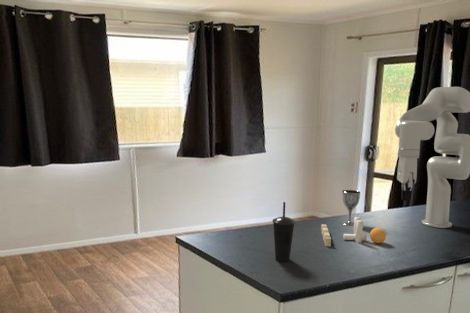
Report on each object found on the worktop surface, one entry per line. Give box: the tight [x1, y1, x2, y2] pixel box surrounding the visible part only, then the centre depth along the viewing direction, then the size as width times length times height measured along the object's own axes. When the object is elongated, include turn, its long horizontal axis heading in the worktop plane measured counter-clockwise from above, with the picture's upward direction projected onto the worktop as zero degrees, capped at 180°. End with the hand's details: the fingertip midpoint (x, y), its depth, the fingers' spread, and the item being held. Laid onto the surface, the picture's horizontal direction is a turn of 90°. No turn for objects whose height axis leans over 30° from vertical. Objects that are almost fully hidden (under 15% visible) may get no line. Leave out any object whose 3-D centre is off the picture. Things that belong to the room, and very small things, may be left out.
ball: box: [369, 227, 387, 244], centre depth 163 cm, size 6×6×6 cm
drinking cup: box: [272, 201, 296, 263], centre depth 143 cm, size 8×8×20 cm
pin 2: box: [354, 220, 364, 244], centre depth 164 cm, size 2×2×8 cm
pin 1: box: [353, 216, 362, 234], centre depth 169 cm, size 2×2×8 cm
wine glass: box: [341, 189, 361, 227], centre depth 191 cm, size 8×8×15 cm
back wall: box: [320, 223, 332, 247], centre depth 168 cm, size 20×2×3 cm, turn 173°
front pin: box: [342, 233, 367, 242], centre depth 167 cm, size 2×2×8 cm
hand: (405, 200), depth 163 cm, fingers closed
